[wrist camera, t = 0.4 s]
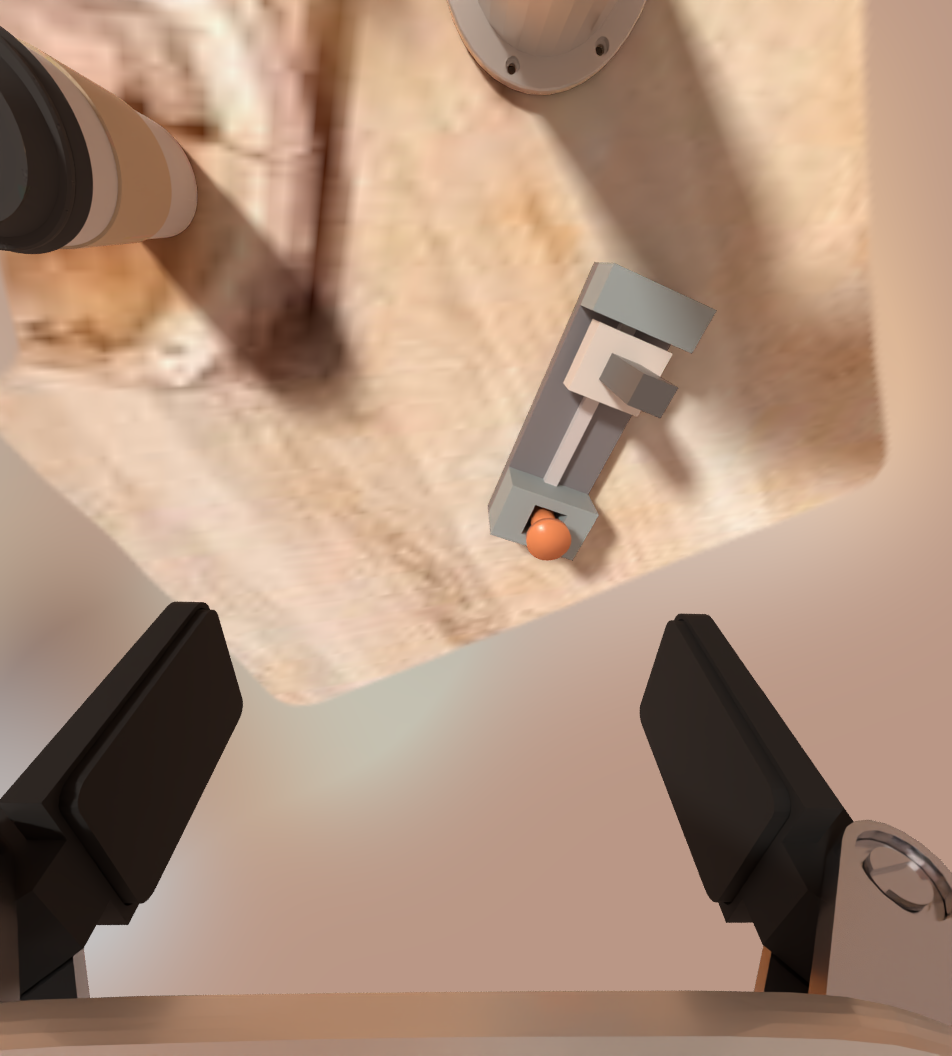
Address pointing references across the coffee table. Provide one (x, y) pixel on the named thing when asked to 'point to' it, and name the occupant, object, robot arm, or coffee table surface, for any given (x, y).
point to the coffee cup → (81, 161)
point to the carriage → (621, 371)
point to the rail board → (585, 405)
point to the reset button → (547, 535)
